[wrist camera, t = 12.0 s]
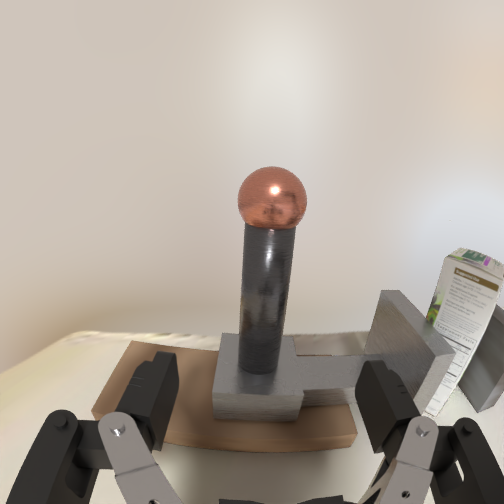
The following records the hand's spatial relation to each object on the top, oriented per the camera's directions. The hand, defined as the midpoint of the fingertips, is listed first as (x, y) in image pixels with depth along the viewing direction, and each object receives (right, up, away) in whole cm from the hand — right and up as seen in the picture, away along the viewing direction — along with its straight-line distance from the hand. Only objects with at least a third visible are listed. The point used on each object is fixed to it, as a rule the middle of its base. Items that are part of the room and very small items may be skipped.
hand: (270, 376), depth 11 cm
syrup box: (+17, -9, +11) cm, 22 cm away
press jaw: (+5, -6, +10) cm, 13 cm away
